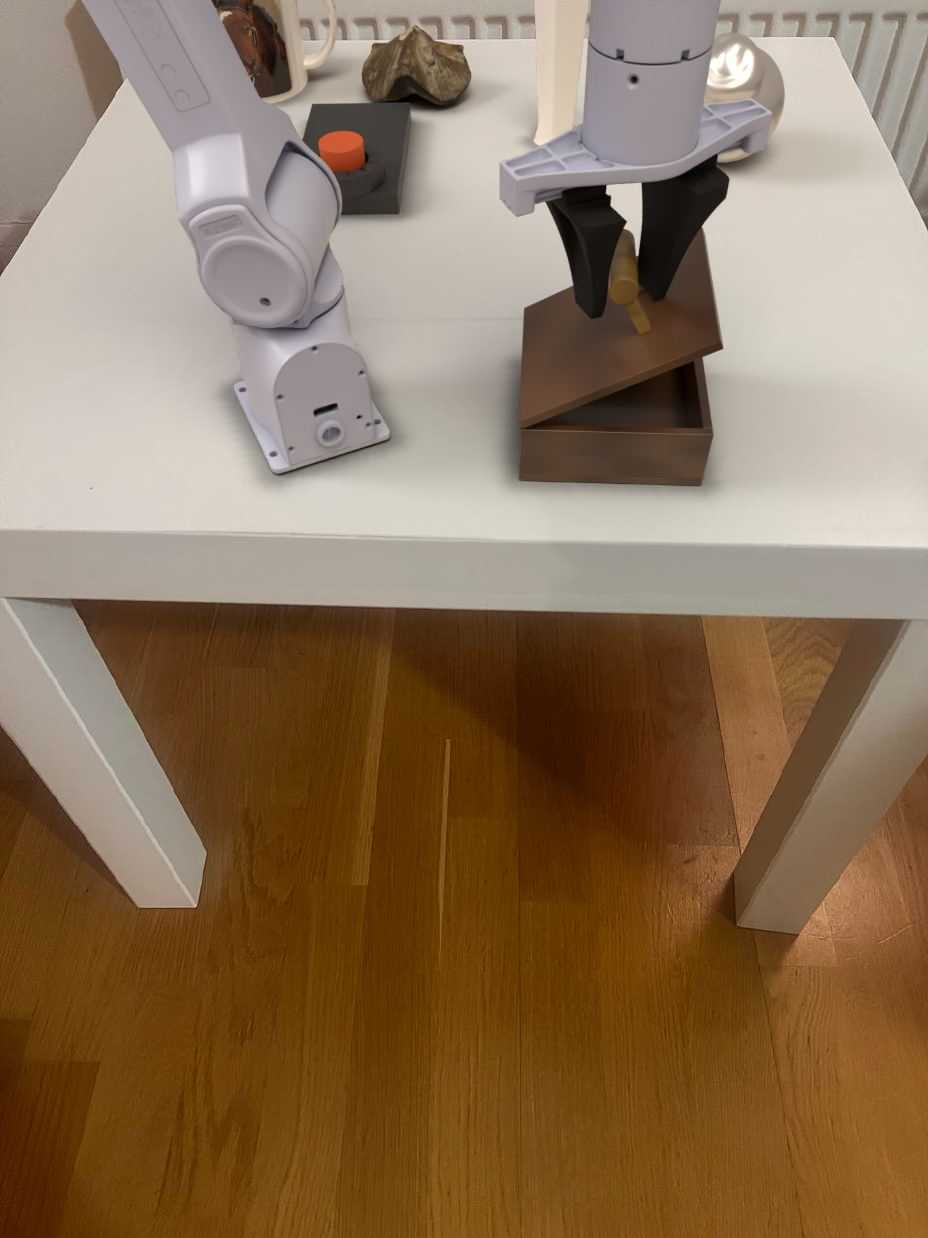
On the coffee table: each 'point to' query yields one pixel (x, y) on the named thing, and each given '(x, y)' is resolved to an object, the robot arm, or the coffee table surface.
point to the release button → (342, 151)
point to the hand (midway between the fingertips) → (620, 299)
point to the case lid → (616, 334)
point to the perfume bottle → (558, 63)
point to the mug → (273, 44)
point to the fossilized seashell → (416, 69)
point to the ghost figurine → (744, 80)
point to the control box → (367, 152)
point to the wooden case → (627, 435)
